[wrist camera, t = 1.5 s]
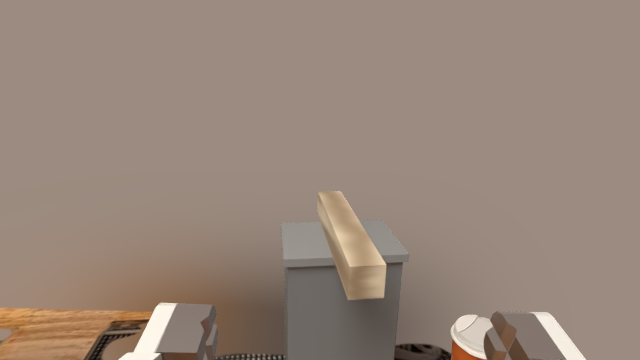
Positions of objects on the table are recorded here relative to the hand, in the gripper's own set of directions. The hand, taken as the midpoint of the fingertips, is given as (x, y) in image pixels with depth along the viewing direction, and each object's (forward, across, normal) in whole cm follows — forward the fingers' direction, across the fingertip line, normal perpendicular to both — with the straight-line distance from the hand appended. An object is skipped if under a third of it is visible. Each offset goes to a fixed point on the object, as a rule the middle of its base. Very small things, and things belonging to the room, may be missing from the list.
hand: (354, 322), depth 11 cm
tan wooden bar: (+29, +4, -19) cm, 35 cm away
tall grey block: (+27, +4, -45) cm, 53 cm away
